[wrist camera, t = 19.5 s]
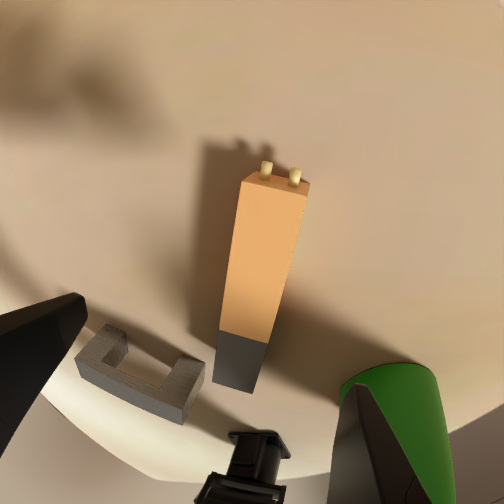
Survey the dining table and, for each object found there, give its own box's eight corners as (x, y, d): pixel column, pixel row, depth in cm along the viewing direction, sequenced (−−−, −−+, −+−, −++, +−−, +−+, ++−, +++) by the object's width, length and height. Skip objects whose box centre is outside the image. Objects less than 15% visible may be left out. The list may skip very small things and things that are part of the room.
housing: (203, 381, 27) (182, 425, 22) (110, 343, 29) (81, 377, 24) (205, 363, 26) (181, 409, 21) (106, 323, 27) (74, 358, 22)
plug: (261, 365, 24) (252, 394, 21) (224, 354, 25) (211, 381, 22) (313, 167, 17) (311, 177, 14) (258, 155, 17) (244, 162, 14)
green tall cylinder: (323, 406, 25) (287, 598, 8) (375, 348, 21) (370, 607, 3) (400, 425, 25) (397, 589, 7) (456, 376, 21) (485, 569, 3)
